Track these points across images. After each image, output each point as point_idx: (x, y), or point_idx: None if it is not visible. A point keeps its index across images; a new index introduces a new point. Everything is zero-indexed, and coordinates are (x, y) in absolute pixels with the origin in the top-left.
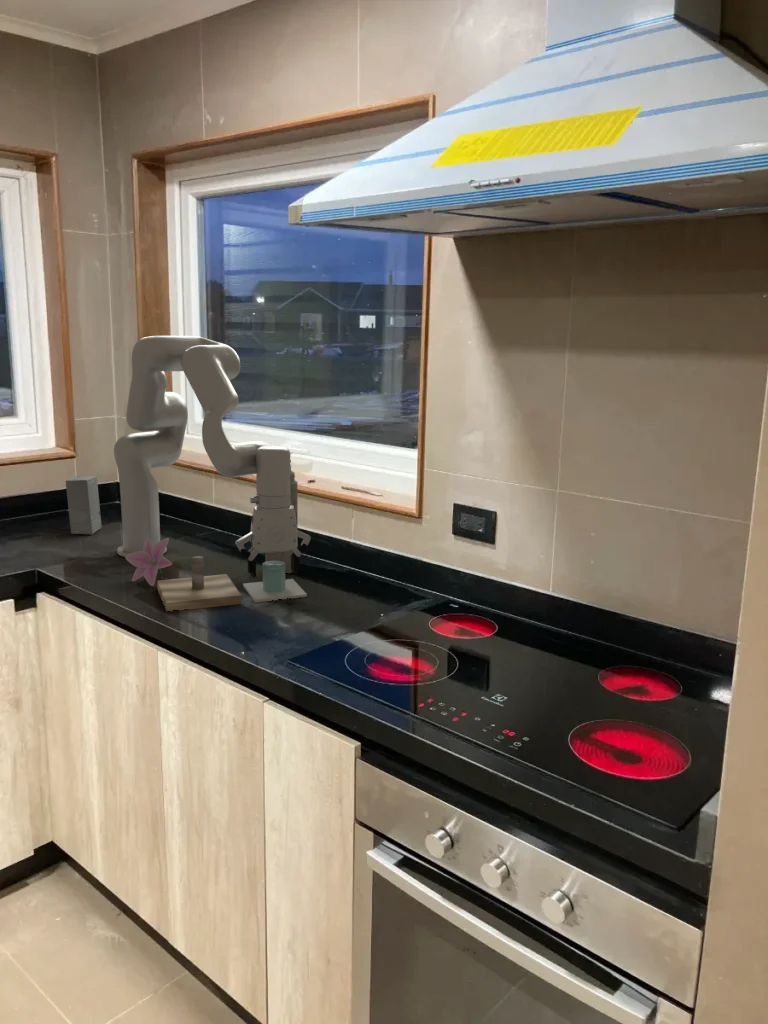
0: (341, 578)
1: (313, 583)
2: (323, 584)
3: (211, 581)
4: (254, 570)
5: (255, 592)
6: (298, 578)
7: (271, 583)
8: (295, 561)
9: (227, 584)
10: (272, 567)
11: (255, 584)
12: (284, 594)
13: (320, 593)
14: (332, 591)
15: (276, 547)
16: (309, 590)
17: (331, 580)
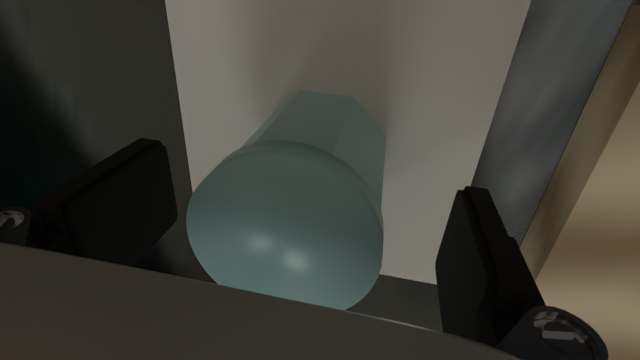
0: (2, 175)
1: None
2: (75, 138)
3: (631, 337)
4: (489, 216)
5: (447, 140)
6: (176, 250)
7: (350, 122)
8: (87, 184)
9: (587, 262)
10: (323, 171)
11: (386, 249)
12: (296, 27)
13: (90, 5)
14: (27, 12)
15: (162, 340)
16: (145, 82)
17: (42, 171)
